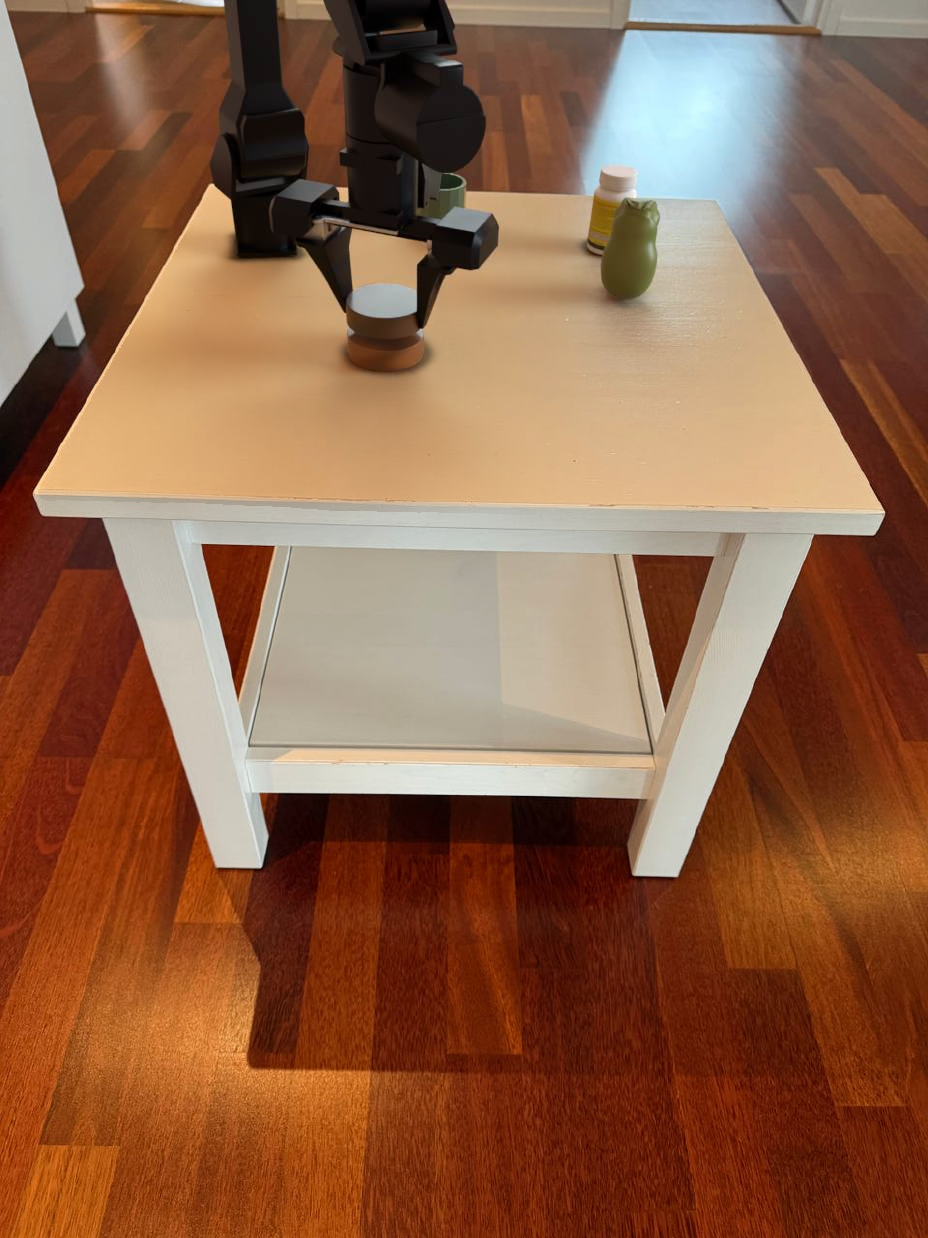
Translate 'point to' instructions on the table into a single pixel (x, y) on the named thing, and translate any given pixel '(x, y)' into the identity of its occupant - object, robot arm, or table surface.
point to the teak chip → (385, 351)
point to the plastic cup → (446, 197)
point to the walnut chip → (382, 311)
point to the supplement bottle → (609, 202)
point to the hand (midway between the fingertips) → (385, 319)
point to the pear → (631, 249)
